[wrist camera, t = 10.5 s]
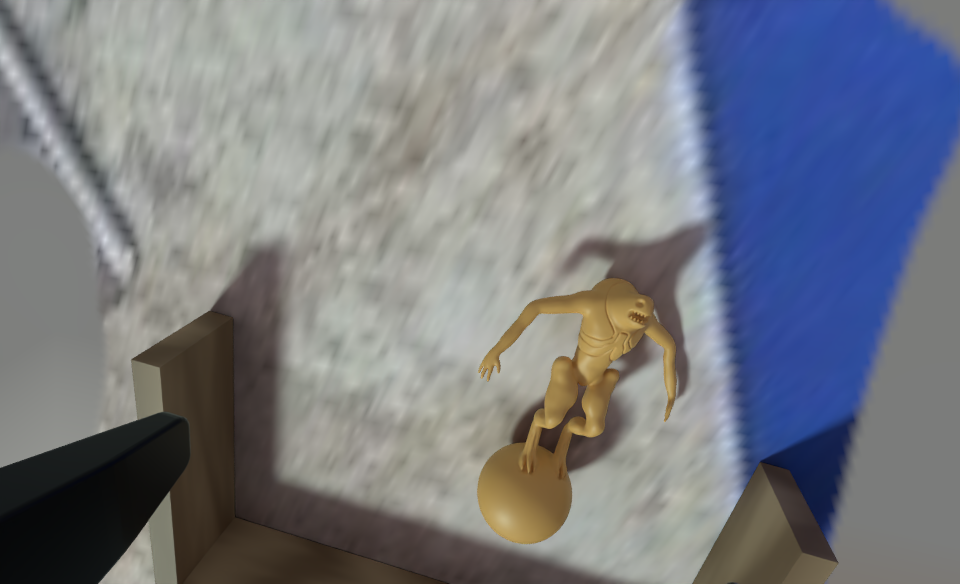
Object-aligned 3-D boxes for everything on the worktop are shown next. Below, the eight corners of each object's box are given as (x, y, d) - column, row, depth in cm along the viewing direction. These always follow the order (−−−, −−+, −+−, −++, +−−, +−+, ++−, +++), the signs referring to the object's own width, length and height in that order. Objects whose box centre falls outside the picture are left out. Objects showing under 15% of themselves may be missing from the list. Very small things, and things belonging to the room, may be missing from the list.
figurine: (413, 548, 20) (557, 355, 13) (419, 418, 25) (529, 223, 17) (594, 569, 22) (801, 418, 15) (569, 448, 27) (720, 287, 20)
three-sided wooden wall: (788, 470, 21) (838, 562, 17) (671, 669, 27) (687, 773, 23) (209, 310, 24) (131, 359, 19) (215, 525, 29) (156, 597, 25)
